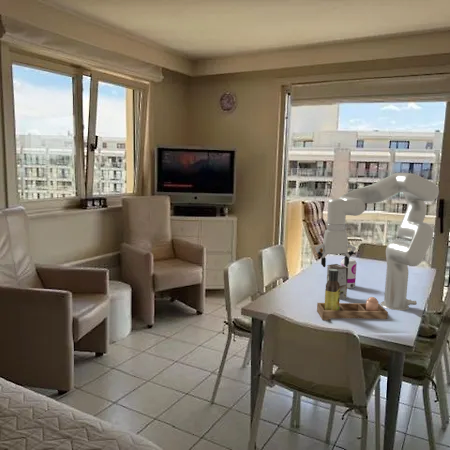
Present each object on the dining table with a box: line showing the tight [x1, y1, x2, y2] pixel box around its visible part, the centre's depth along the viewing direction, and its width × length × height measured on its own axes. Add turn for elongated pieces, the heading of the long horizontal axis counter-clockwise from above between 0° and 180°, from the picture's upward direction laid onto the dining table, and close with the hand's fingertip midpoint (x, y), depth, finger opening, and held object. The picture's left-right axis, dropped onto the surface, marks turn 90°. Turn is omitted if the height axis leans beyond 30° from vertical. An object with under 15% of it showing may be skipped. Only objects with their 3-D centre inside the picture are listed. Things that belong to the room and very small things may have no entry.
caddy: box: [316, 302, 389, 321], centre depth 191 cm, size 28×11×4 cm, turn 90°
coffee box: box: [326, 263, 348, 300], centre depth 216 cm, size 9×6×16 cm
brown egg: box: [365, 296, 379, 311], centre depth 191 cm, size 5×5×8 cm
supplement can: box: [340, 257, 358, 289], centre depth 235 cm, size 8×8×15 cm
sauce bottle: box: [324, 269, 341, 311], centre depth 190 cm, size 6×6×20 cm
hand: (334, 266), depth 188 cm, fingers open, 9 cm apart
